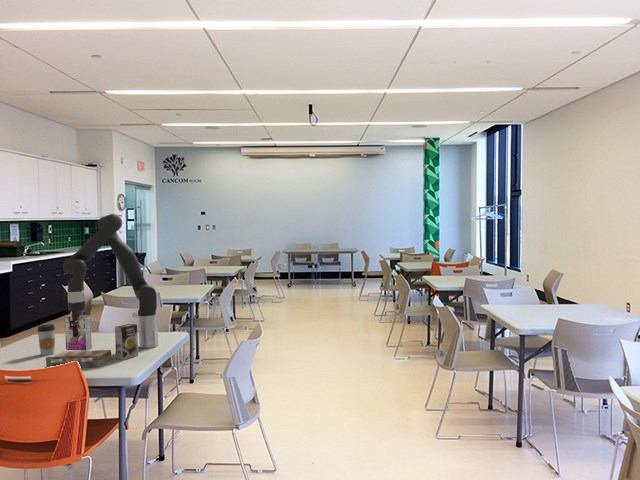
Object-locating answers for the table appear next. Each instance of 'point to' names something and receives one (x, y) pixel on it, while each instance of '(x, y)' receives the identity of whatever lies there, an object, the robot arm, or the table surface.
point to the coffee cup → (46, 339)
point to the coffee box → (126, 341)
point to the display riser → (80, 358)
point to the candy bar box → (79, 334)
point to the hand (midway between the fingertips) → (78, 335)
